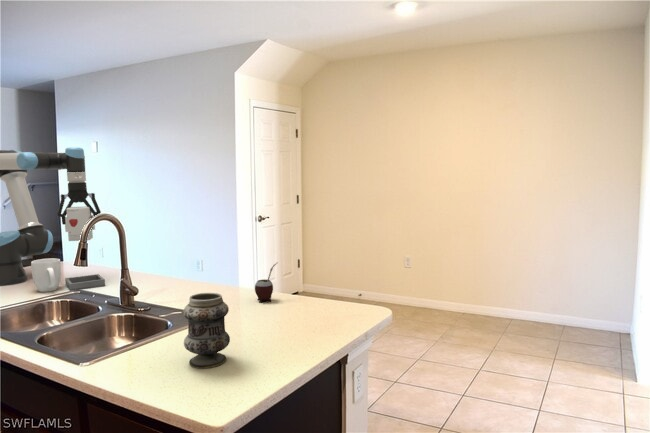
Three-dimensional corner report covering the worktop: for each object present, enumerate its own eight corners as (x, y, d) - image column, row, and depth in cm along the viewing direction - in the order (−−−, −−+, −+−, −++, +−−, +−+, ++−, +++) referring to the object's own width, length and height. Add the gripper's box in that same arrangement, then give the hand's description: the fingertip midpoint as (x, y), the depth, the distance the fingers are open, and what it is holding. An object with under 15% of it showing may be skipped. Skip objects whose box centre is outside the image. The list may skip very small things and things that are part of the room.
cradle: (65, 284, 220) (65, 278, 220) (99, 280, 228) (98, 274, 228) (70, 290, 209) (69, 284, 208) (105, 286, 217) (104, 279, 216)
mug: (68, 291, 207) (66, 261, 206) (39, 296, 200) (37, 265, 199) (57, 285, 218) (56, 257, 217) (30, 290, 211) (27, 260, 209)
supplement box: (67, 241, 216) (65, 208, 215) (72, 239, 225) (69, 206, 223) (90, 240, 219) (87, 207, 217) (93, 237, 227) (91, 205, 226)
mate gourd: (251, 302, 188) (250, 264, 187) (263, 297, 195) (262, 260, 194) (267, 304, 185) (266, 265, 183) (278, 299, 192) (278, 262, 190)
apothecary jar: (233, 352, 137) (231, 289, 135) (226, 369, 125) (224, 301, 123) (190, 353, 136) (188, 290, 135) (179, 371, 124) (176, 302, 123)
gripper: (49, 182, 209) (53, 233, 211) (106, 181, 223) (109, 228, 225) (46, 182, 215) (50, 232, 217) (102, 181, 229) (105, 227, 231)
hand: (80, 230), depth 221 cm, fingers closed on supplement box, 10 cm apart
